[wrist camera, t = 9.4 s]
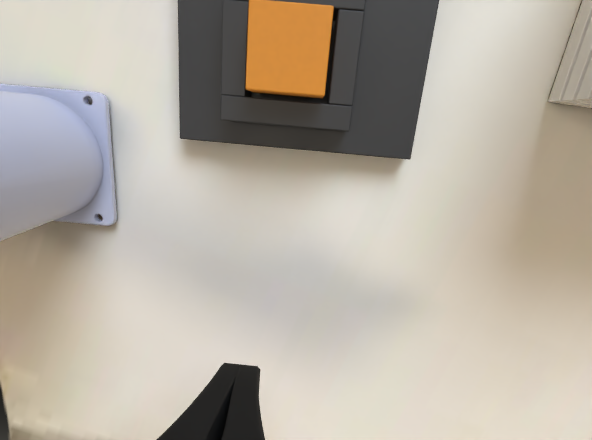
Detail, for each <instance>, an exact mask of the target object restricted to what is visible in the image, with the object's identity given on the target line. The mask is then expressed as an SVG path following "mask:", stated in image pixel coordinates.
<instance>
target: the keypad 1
mask: <svg viewBox="0 0 592 440" xmlns="http://www.w3.org/2000/svg"><path fill="white" fill-rule="evenodd" d="M271 1H283V2H295V3H307V4H319V5H332V6H333V7H334V10H333V20H332V30H331V40H330V49H329V59H328V69H327V78H326V88H325V95H324V97H323V98H311V97H300V96H288V95H277V94H265V93H254V92H251V91H249V90H247V89H246V88H245V86H246V60H247V34H248V8H249V0H178V34H179V101H180V138H181V139H191V140H202V141H213V142H224V143H235V144H246V145H257V146H268V147H279V148H290V149H301V150H312V151H323V152H334V153H345V154H356V155H367V156H378V157H390V158H401V159H410V158H411V152H412V147H413V141H414V136H415V130H416V125H417V119H418V114H419V108H420V103H421V97H422V92H423V86H424V81H425V75H426V70H427V64H428V59H429V53H430V48H431V42H432V37H433V31H434V26H435V20H436V15H437V9H438V4H439V0H271Z"/></svg>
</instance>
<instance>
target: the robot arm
mask: <svg viewBox="0 0 592 440" xmlns="http://www.w3.org/2000/svg"><path fill="white" fill-rule="evenodd" d="M89 97H91V98H92V101H93V102H92V104H91V105H90V104H89V103H88V98H89ZM98 214H100V215H101V216H102V218H103V219H102V220H101V219H99V217H98ZM51 221H62V222H72V223H82V224H93V225H103V226H110V225H112V224H114V223H115V222H116V221H117V210H116V196H115V182H114V169H113V155H112V141H111V127H110V113H109V102H108V99H107V97H106V96H105V95H104V94H102V93H99V92H88V91H77V90H66V89H54V88H43V87H32V86H20V85H9V84H0V241H2V240H5V239H7V238H10V237H13V236H15V235H18V234H20V233H23V232H25V231H28V230H30V229H33V228H36V227H38V226H41V225H43V224H46V223H48V222H51ZM259 381H260V369H259V368H258V366H249V365H239V364H230V363H224V364H223V365H222V366H221V367H220V368H219V370H218V371H217V373H216V374H215V375H214V377H213V378H212V379H211V381H210V382H209V383H208V385H207V386H206V387H205V388H204V390H203V391H202V392H201V393H200V394H199V396H198V397H197V398H196V399H195V400H194V401H193V403H192V404H191V405H190V406H189V407H188V408H187V409H186V410H185V412H184V413H183V414H182V415H181V416H180V417H179V418H178V419H177V420H176V421H175V422H174V423H173V424H172V425H171V426H170V427H169V428H168V429H167V430H166V431H165V432H164V433H163V434H162V435H161V436H160V437H159V438H158V439H157V440H265V437H264V432H263V427H262V421H261V414H260V406H259Z"/></svg>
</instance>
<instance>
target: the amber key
mask: <svg viewBox="0 0 592 440" xmlns="http://www.w3.org/2000/svg"><path fill="white" fill-rule="evenodd" d="M333 10H334V7H333V6H332V5H319V4H307V3H295V2H283V1H271V0H249V8H248V34H247V60H246V86H245V88H246V89H247V90H249V91H251V92H254V93H265V94H277V95H288V96H300V97H311V98H323V97H324V95H325V88H326V78H327V69H328V59H329V49H330V40H331V30H332V20H333Z"/></svg>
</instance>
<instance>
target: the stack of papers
mask: <svg viewBox="0 0 592 440" xmlns="http://www.w3.org/2000/svg"><path fill="white" fill-rule="evenodd" d="M548 102H554V103H561V104H567V105H574V106H581V107H587V108H592V0H582V3H581V6H580V9H579V12H578V15H577V18H576V21H575V24H574V27H573V30H572V33H571V36H570V38H569V41H568V44H567V47H566V50H565V53H564V56H563V59H562V62H561V65H560V68H559V71H558V74H557V77H556V79H555V82H554V85H553V88H552V91H551V94H550V97H549V100H548Z"/></svg>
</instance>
